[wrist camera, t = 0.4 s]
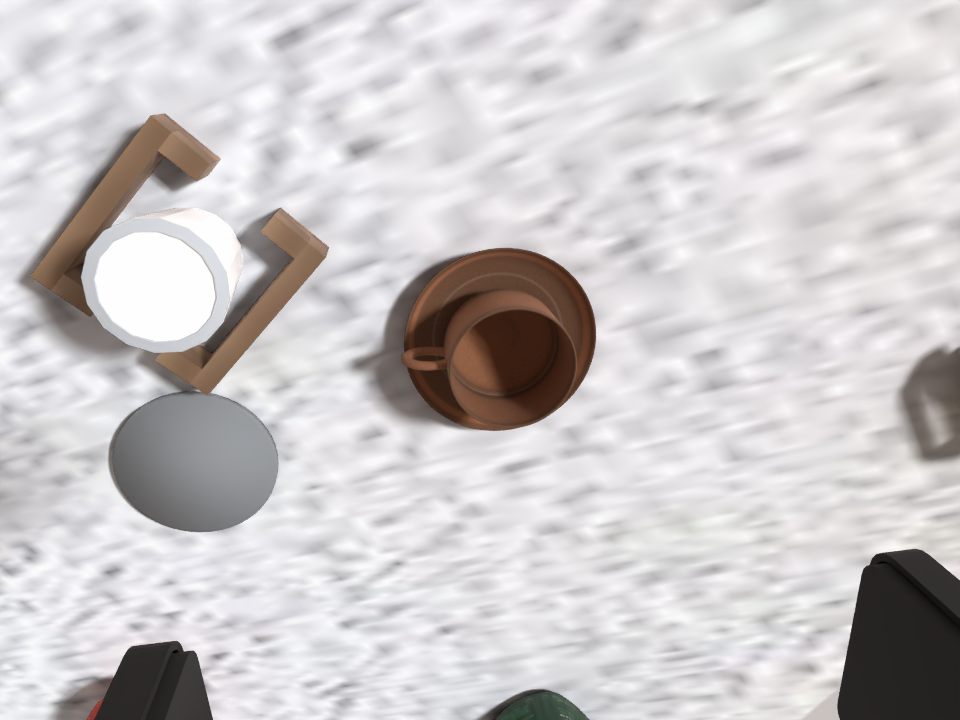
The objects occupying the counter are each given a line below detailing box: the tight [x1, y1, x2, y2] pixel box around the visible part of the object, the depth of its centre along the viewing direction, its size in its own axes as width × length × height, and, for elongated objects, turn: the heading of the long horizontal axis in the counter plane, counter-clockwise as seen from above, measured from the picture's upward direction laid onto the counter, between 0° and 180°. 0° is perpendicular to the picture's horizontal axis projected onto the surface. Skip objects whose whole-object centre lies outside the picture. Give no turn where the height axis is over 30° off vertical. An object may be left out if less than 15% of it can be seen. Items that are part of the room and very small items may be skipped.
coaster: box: [113, 391, 278, 532], centre depth 44 cm, size 10×10×1 cm
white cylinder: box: [81, 208, 243, 353], centre depth 37 cm, size 7×7×7 cm
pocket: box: [30, 114, 329, 396], centre depth 39 cm, size 11×11×2 cm
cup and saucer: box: [401, 248, 596, 431], centre depth 42 cm, size 12×12×6 cm
